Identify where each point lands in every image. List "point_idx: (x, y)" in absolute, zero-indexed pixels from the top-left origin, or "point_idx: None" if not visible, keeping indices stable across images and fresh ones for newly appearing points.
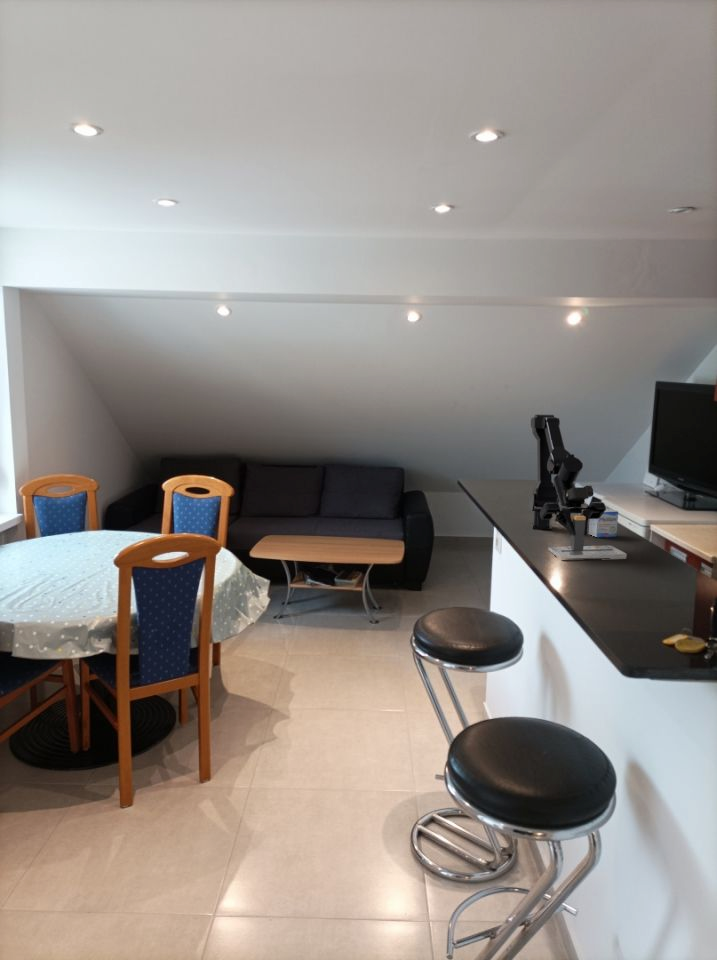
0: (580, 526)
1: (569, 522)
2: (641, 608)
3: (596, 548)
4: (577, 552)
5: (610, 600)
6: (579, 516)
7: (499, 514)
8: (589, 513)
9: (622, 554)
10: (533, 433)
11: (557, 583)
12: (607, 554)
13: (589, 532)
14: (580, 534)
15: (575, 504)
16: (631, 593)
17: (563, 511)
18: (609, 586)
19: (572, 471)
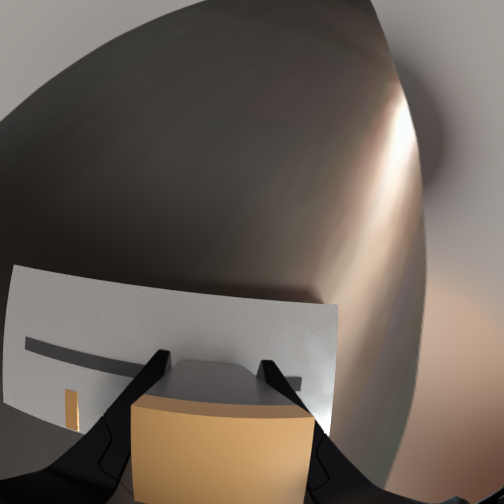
0: (214, 385)
1: (326, 445)
2: (286, 10)
3: (81, 389)
4: (226, 346)
5: (323, 35)
6: (234, 445)
7: None
8: (21, 481)
9: (28, 268)
10: None
11: (402, 119)
12: (88, 279)
13: None
14: (205, 374)
15: None
16: (260, 35)
17: (450, 502)
18: (286, 64)
19: None
